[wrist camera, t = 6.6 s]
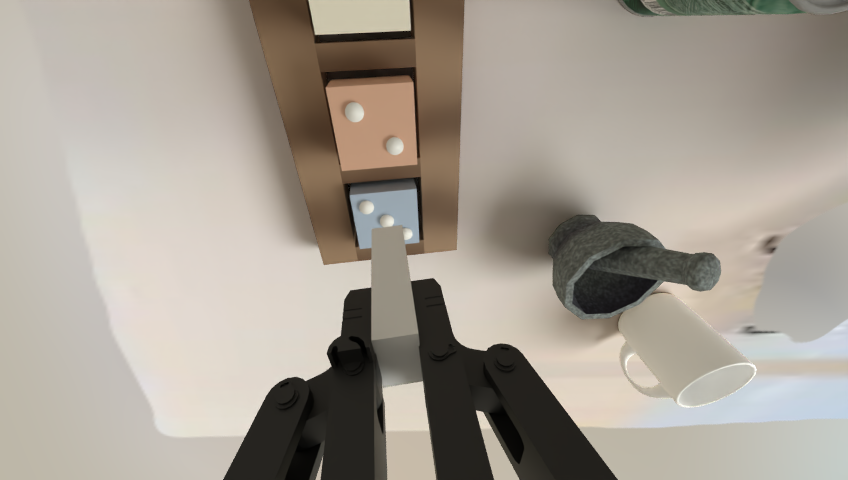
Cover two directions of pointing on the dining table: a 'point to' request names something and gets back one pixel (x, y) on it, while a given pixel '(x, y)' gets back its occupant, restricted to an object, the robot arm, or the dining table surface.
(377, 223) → the button block
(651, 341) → the mug
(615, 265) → the mortar and pestle
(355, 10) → the button block
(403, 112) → the button block
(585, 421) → the dining table surface
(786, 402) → the dining table surface
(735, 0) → the canned tomato
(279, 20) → the button board
